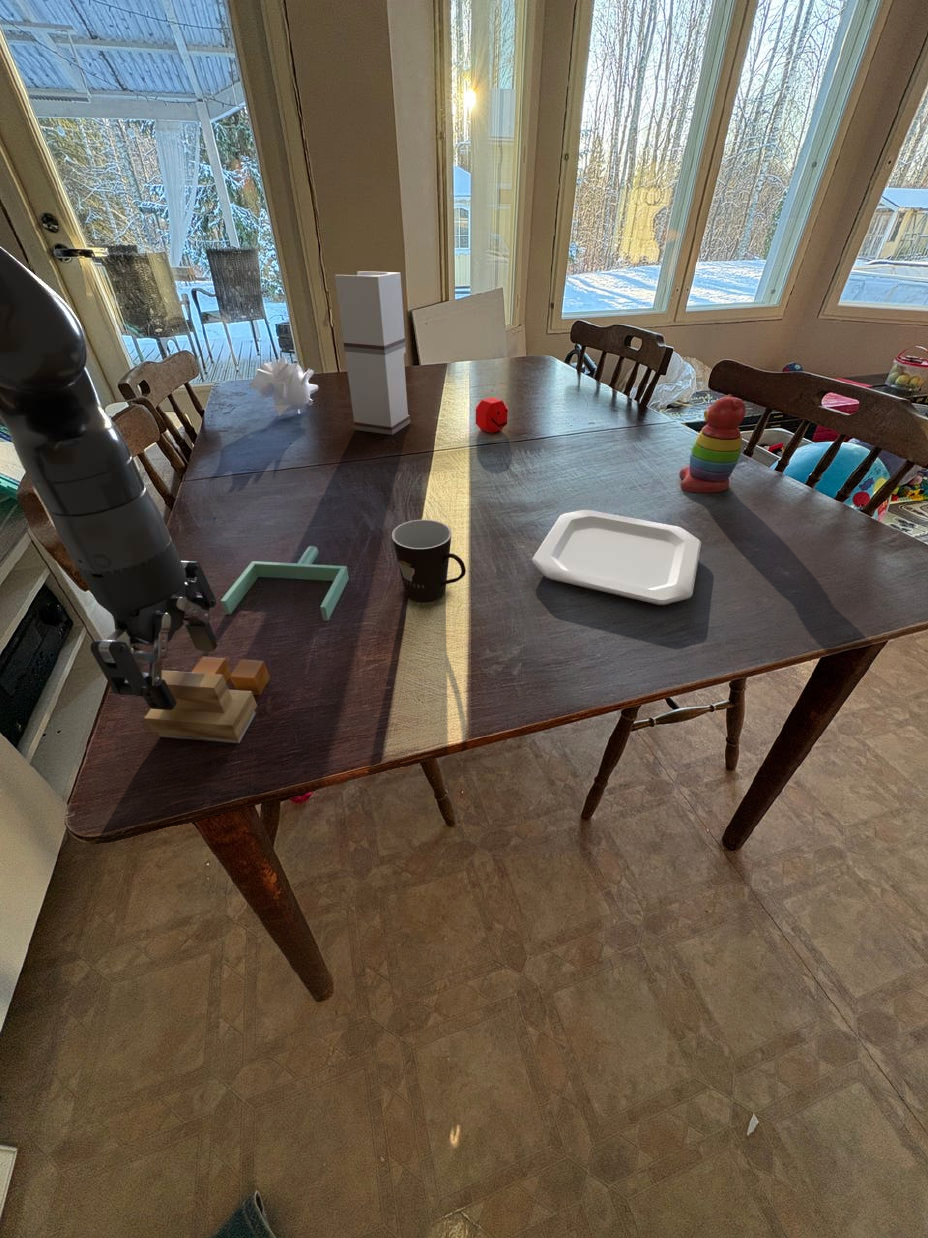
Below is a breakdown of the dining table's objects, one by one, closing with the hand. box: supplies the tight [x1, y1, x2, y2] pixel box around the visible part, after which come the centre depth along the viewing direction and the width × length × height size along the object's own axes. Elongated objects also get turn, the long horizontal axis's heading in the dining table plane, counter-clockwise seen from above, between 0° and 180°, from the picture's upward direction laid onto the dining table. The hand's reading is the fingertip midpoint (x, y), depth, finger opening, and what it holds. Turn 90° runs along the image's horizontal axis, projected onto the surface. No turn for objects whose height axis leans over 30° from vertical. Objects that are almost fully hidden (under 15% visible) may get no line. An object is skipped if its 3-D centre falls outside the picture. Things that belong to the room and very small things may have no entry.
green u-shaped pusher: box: [220, 545, 350, 621], centre depth 80 cm, size 17×16×2 cm
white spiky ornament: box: [249, 355, 319, 417], centre depth 147 cm, size 20×17×15 cm
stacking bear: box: [678, 393, 747, 494], centre depth 105 cm, size 11×10×18 cm
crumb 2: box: [230, 659, 270, 696], centre depth 63 cm, size 3×3×3 cm
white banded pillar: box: [334, 270, 411, 436], centre depth 130 cm, size 11×11×35 cm
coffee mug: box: [391, 519, 467, 603], centre depth 76 cm, size 12×9×10 cm
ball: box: [475, 397, 509, 434], centre depth 136 cm, size 8×8×8 cm
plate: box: [531, 509, 702, 606], centre depth 86 cm, size 25×25×2 cm
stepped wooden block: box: [143, 669, 258, 744], centre depth 57 cm, size 10×5×8 cm, turn 84°
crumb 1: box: [190, 656, 232, 685], centre depth 63 cm, size 3×3×3 cm
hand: (188, 676), depth 54 cm, fingers open, 8 cm apart
